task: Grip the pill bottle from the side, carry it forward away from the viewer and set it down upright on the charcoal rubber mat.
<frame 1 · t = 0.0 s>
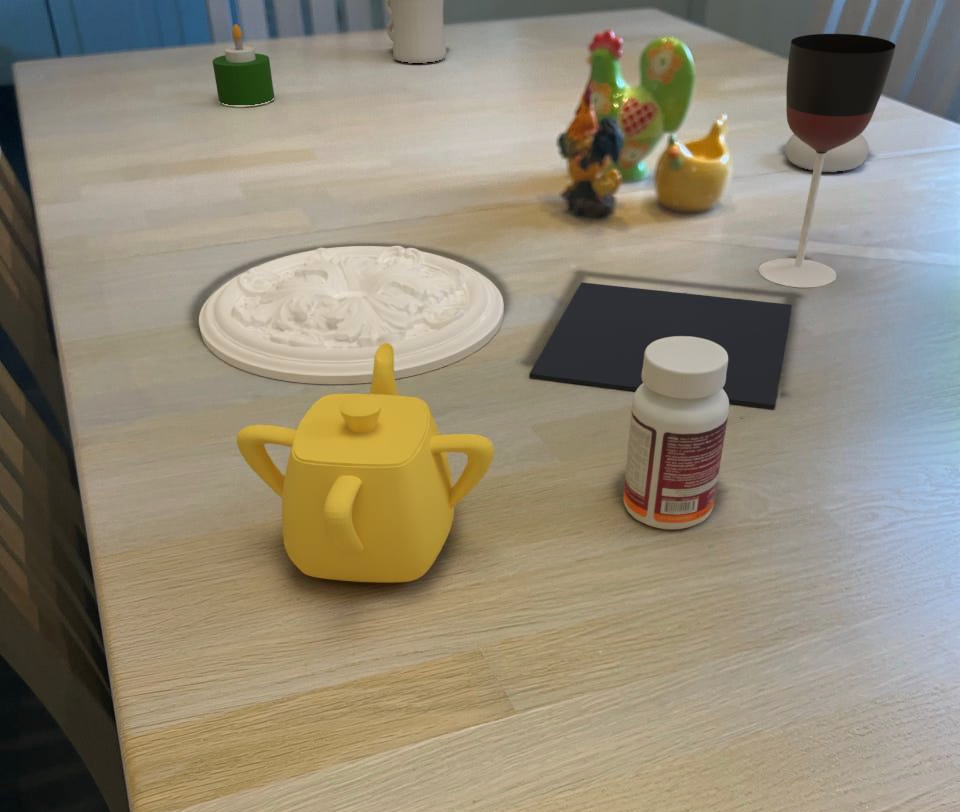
mug: (413, 59, 173), on the table
candle: (247, 101, 153), on the table
mat: (667, 341, 89), on the table
wineglass: (796, 274, 101), on the table
ceiling medallion: (353, 315, 94), on the table
pill bottle: (666, 509, 70), on the table
donut: (823, 165, 127), on the table
teapot: (375, 540, 67), on the table
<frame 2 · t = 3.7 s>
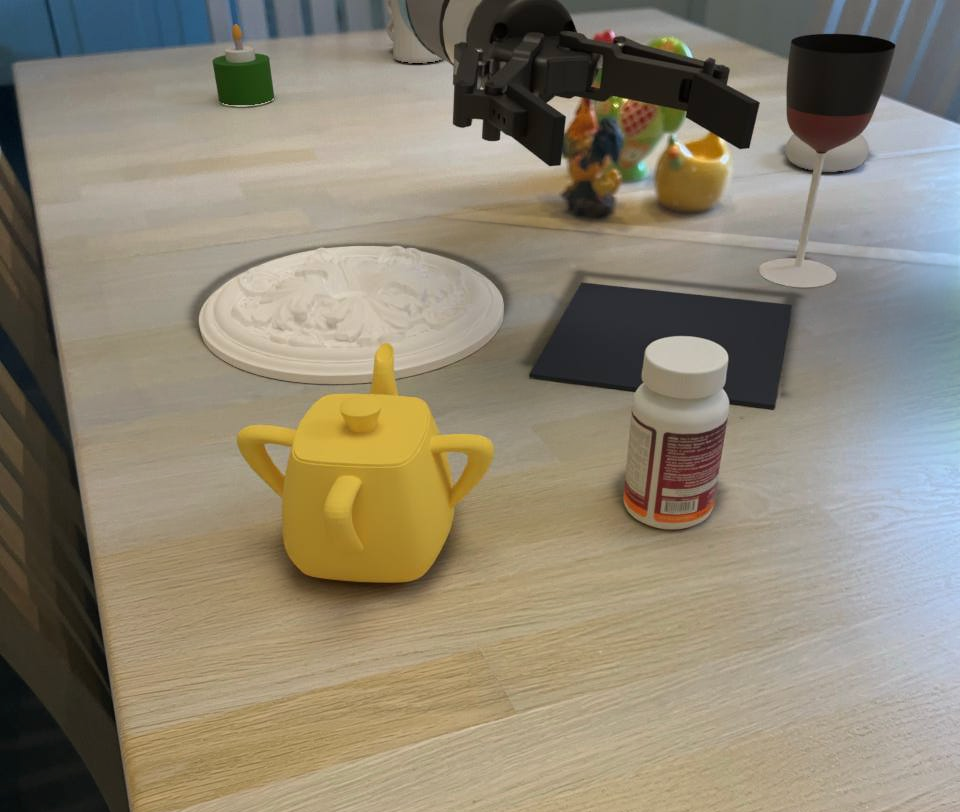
hand: (657, 133, 61), 22 cm above the table, tool horizontal, fingers open, 13 cm apart
nothing on the table moved.
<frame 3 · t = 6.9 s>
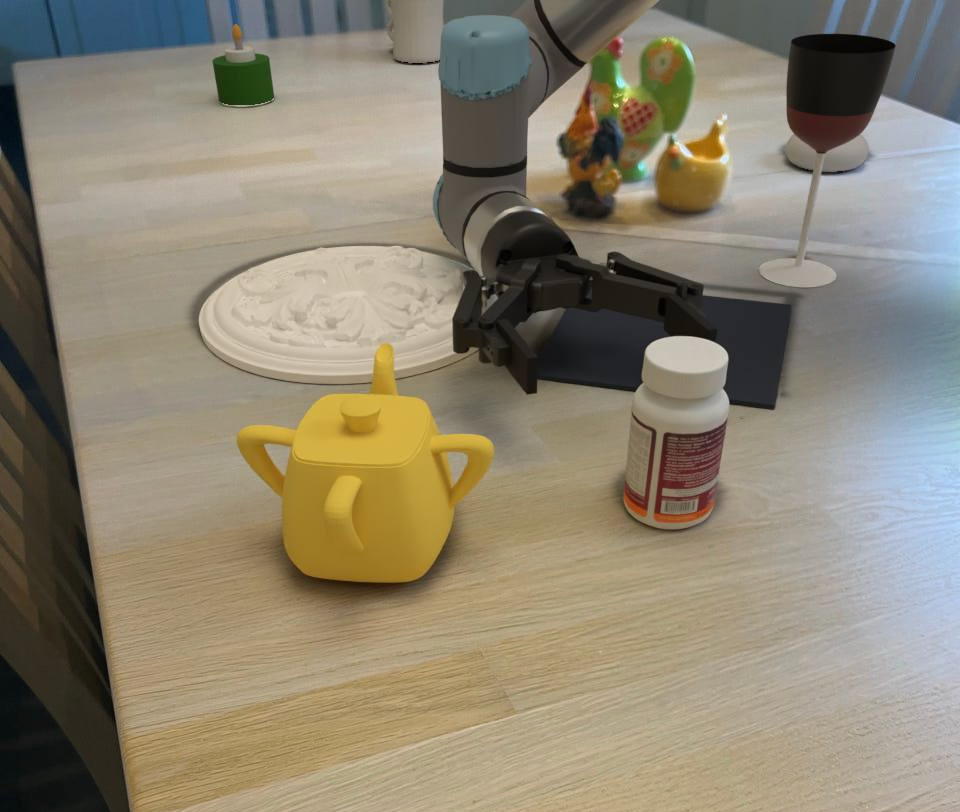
hand: (623, 361, 71), 7 cm above the table, tool horizontal, fingers open, 13 cm apart
nothing on the table moved.
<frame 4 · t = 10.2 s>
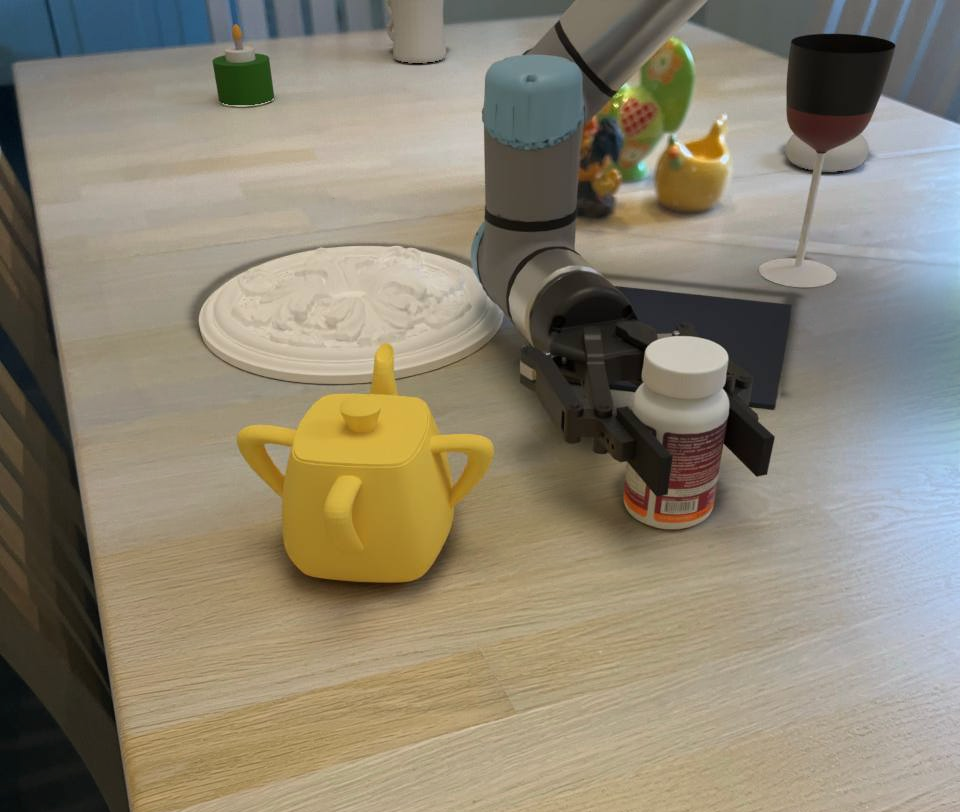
hand: (715, 466, 62), 6 cm above the table, tool horizontal, fingers closed on pill bottle, 6 cm apart
pill bottle: (666, 509, 70), on the table, touching gripper
everything else where it was.
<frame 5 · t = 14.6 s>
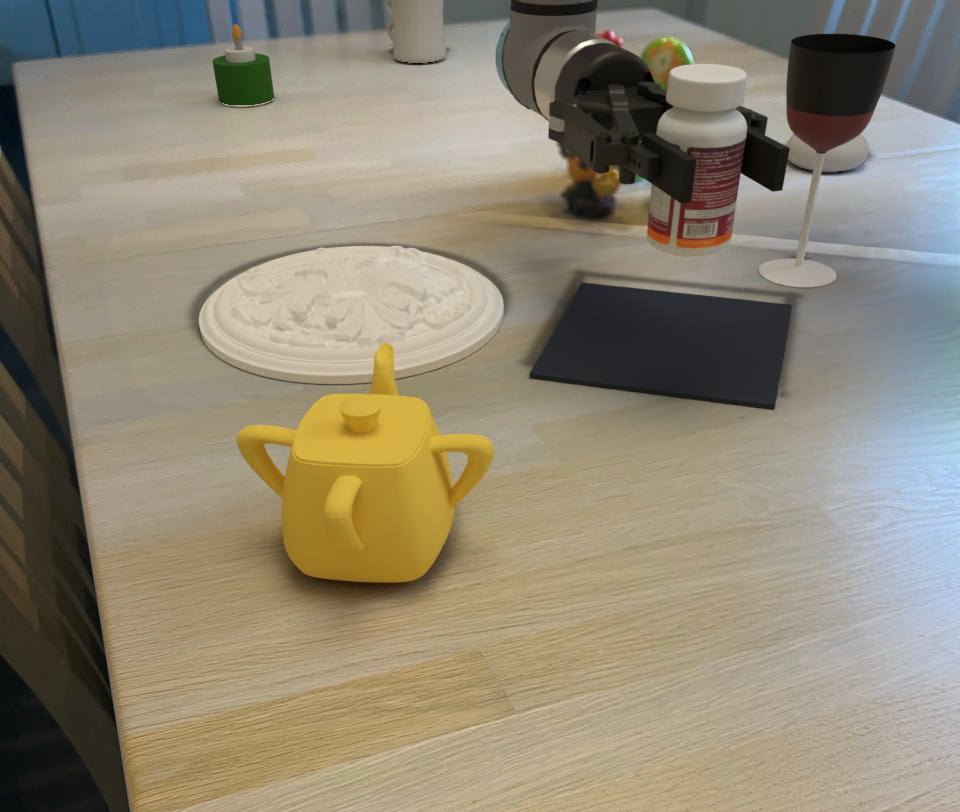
hand: (735, 175, 67), 18 cm above the table, tool horizontal, fingers closed on pill bottle, 6 cm apart
pill bottle: (687, 246, 75), point 12 cm above the table, touching gripper
everything else where it was.
when the fingers open (7 cm above the table, at t = 19.2 s): pill bottle stays where it is, resting on mat.
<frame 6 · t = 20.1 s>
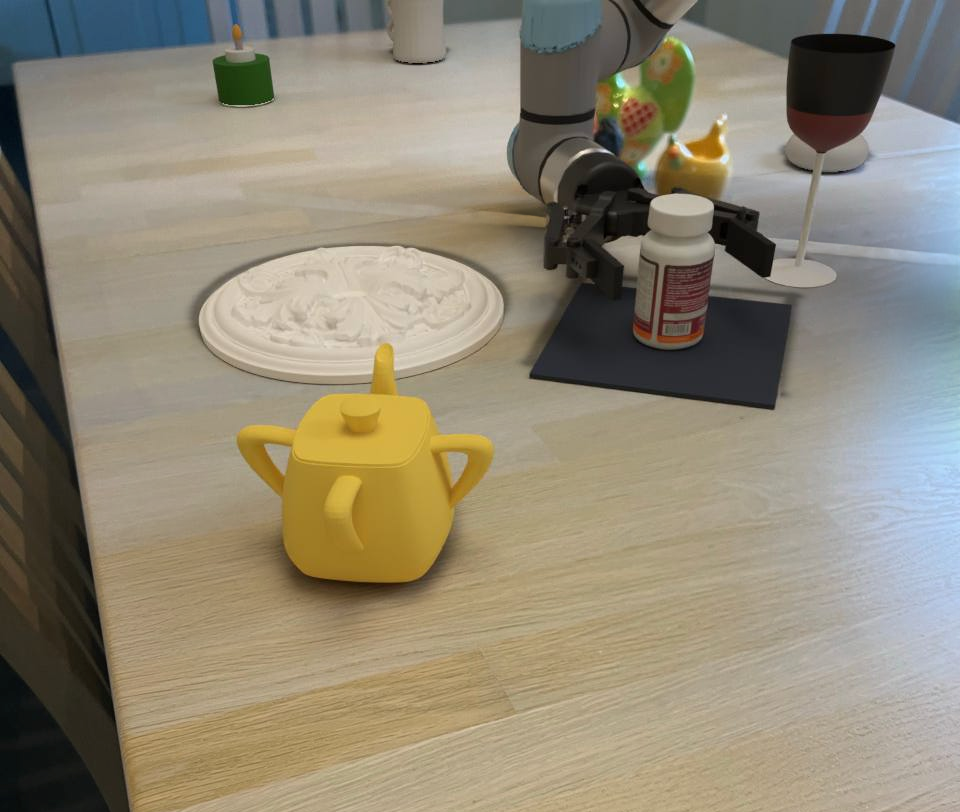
hand: (695, 272, 82), 7 cm above the table, tool horizontal, fingers open, 13 cm apart
pill bottle: (666, 338, 89), resting on mat
everything else where it was.
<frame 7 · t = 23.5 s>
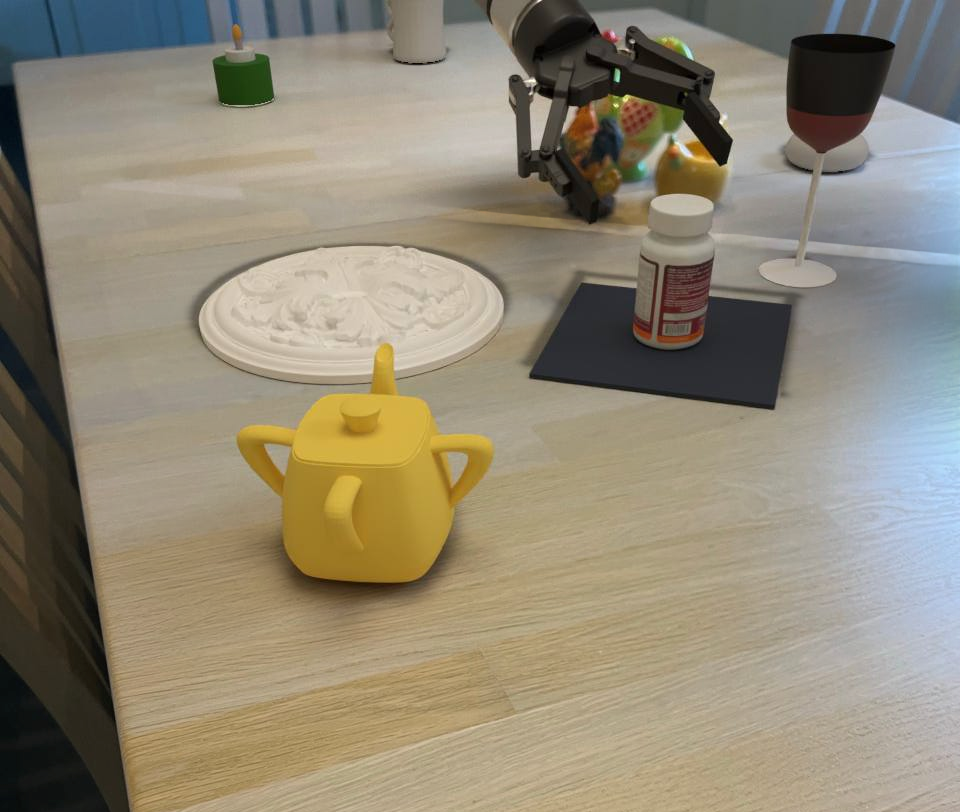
hand: (661, 182, 90), 10 cm above the table, tool tilted 65°, fingers open, 13 cm apart
nothing on the table moved.
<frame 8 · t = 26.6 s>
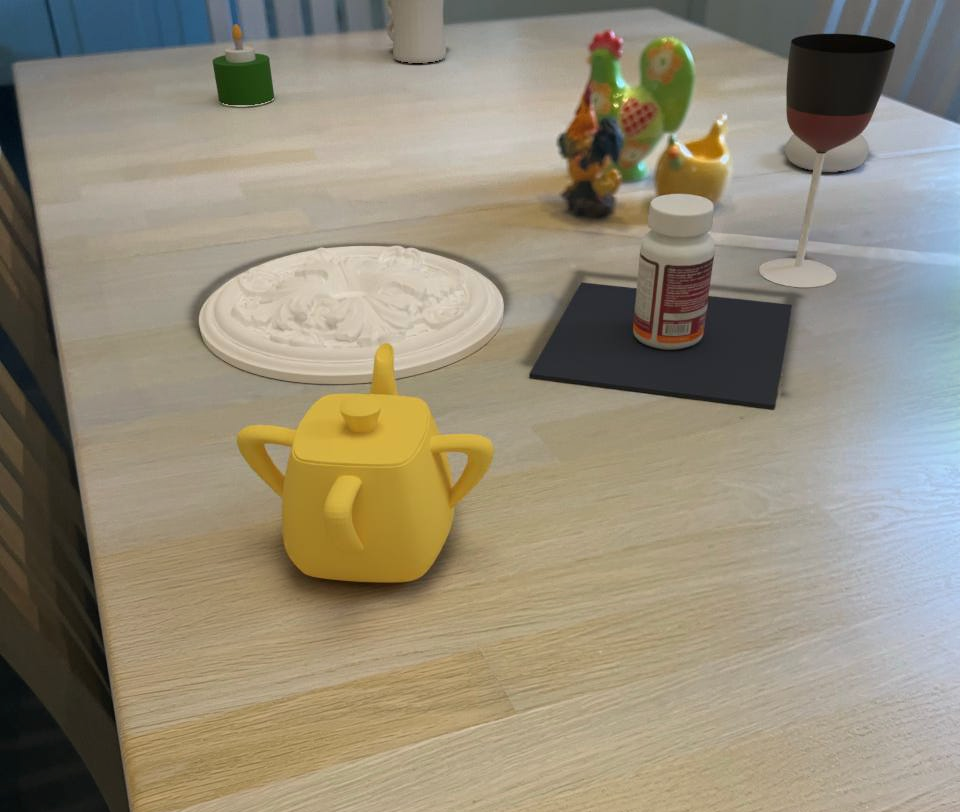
nothing on the table moved.
at the end: pill bottle inside the target area on the mat (0.1 cm from its centre), point 0.2 cm above the mat's base; pill bottle tilted 0°; pill bottle moved 26.3 cm from its start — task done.
